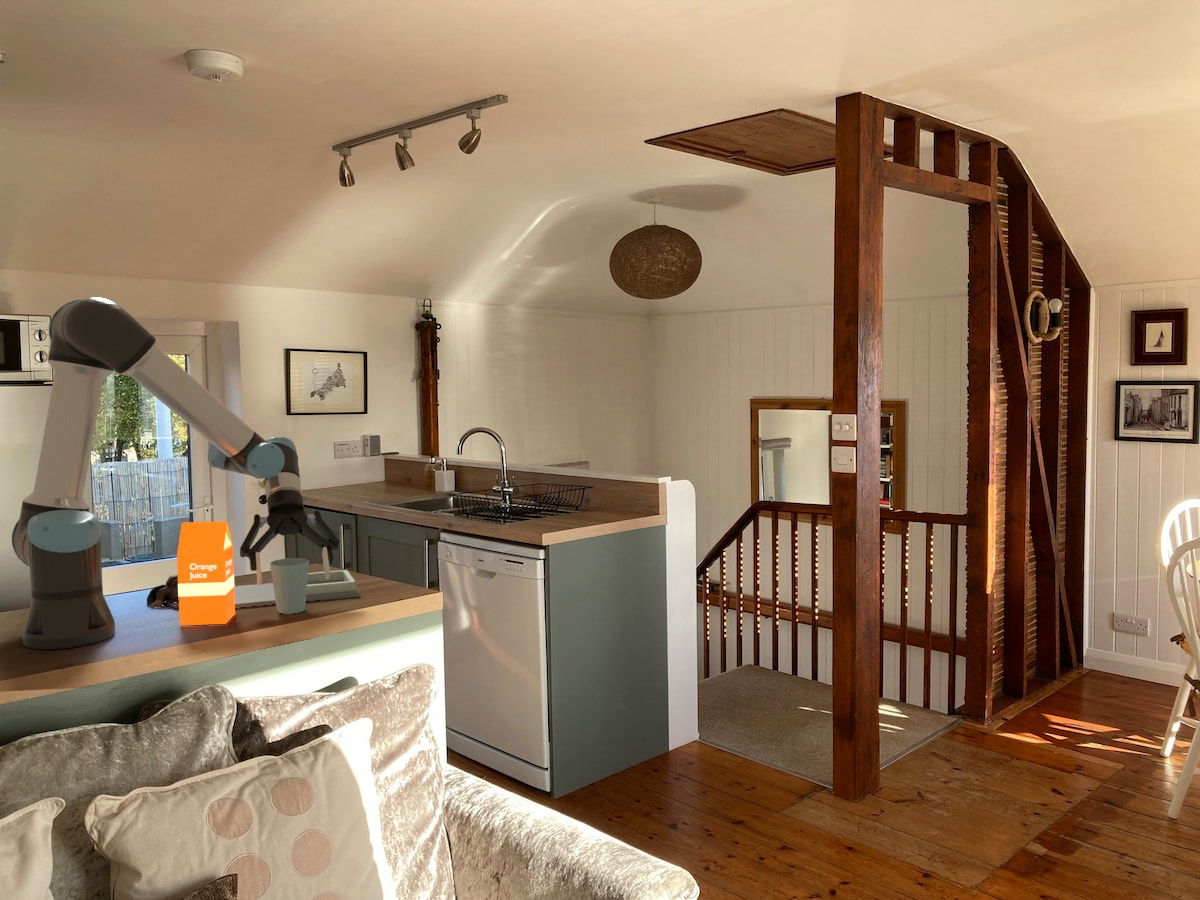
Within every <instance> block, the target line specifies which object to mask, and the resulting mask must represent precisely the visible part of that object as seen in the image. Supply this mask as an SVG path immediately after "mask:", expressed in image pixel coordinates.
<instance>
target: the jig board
mask: <svg viewBox="0 0 1200 900" xmlns="http://www.w3.org/2000/svg"><path fill="white" fill-rule="evenodd" d="M234 596H235V608H237V609H242V608H241V607H247V608H253V607H252V606H258V607H263V606H262V605H268V606H273V605H272V604H276V600H275V593H274V586H273V582H268V583H266V582H265V583H262V586H258V583H255V584H254V583H253V584H247V585H246V584H245V585H234ZM350 598H360V591H359V589H357V586H356V580H355V578H353V576H352V575H351V574H350V572H349V571H348V569H342V570H341V569H340V570H330V578H329V579H327V580H326V579H325V572H324V571H318V572H317V571H316V572H308V578H307V591H306V601H310V602H316V601H315V600H320V601H330V599H331V600H338V599H339V600H340V599H350Z"/></svg>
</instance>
